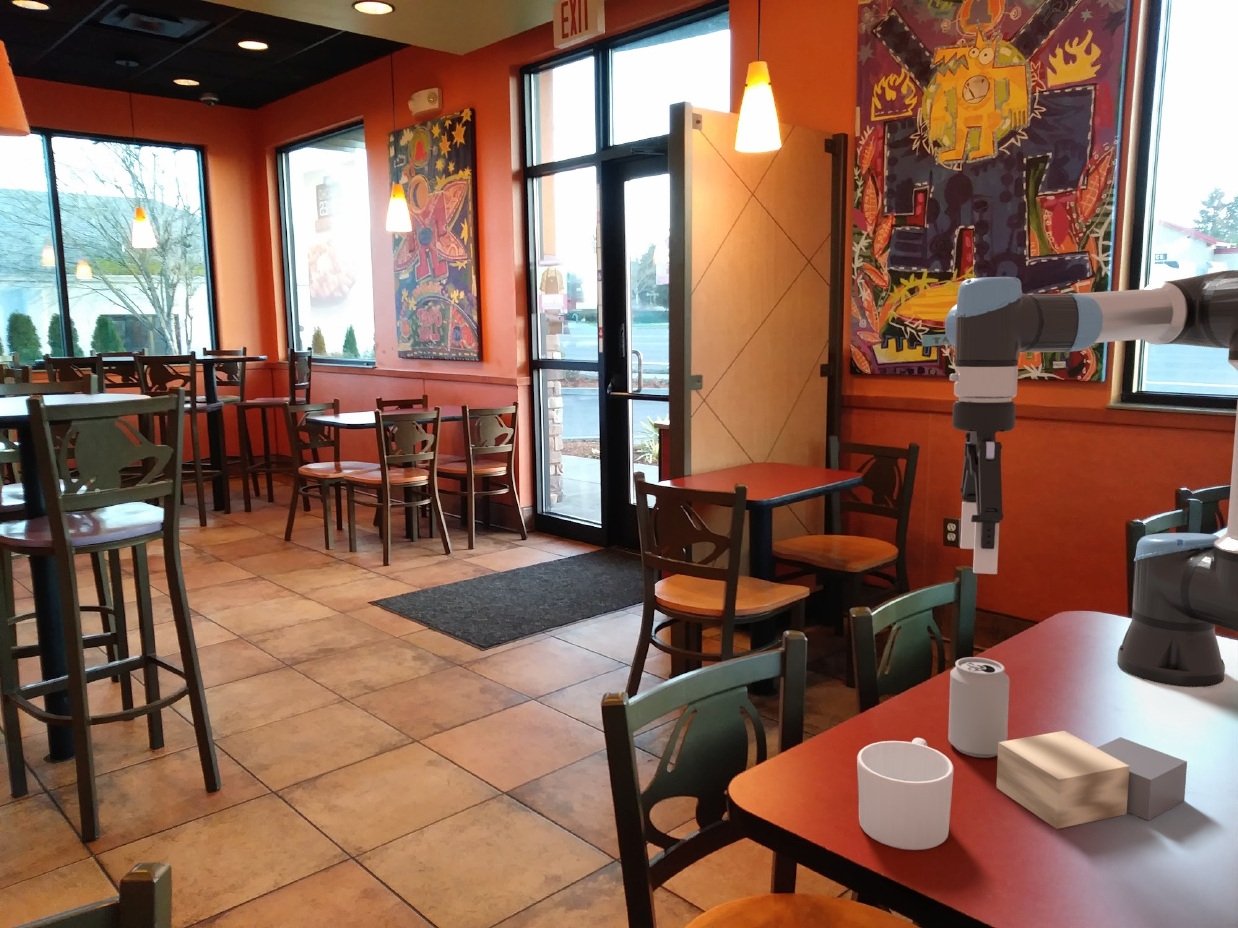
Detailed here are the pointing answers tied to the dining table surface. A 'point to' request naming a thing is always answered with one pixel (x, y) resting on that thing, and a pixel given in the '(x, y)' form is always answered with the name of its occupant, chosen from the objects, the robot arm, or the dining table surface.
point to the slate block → (1149, 777)
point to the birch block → (1062, 779)
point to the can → (978, 706)
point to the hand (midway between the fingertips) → (977, 560)
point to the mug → (904, 794)
